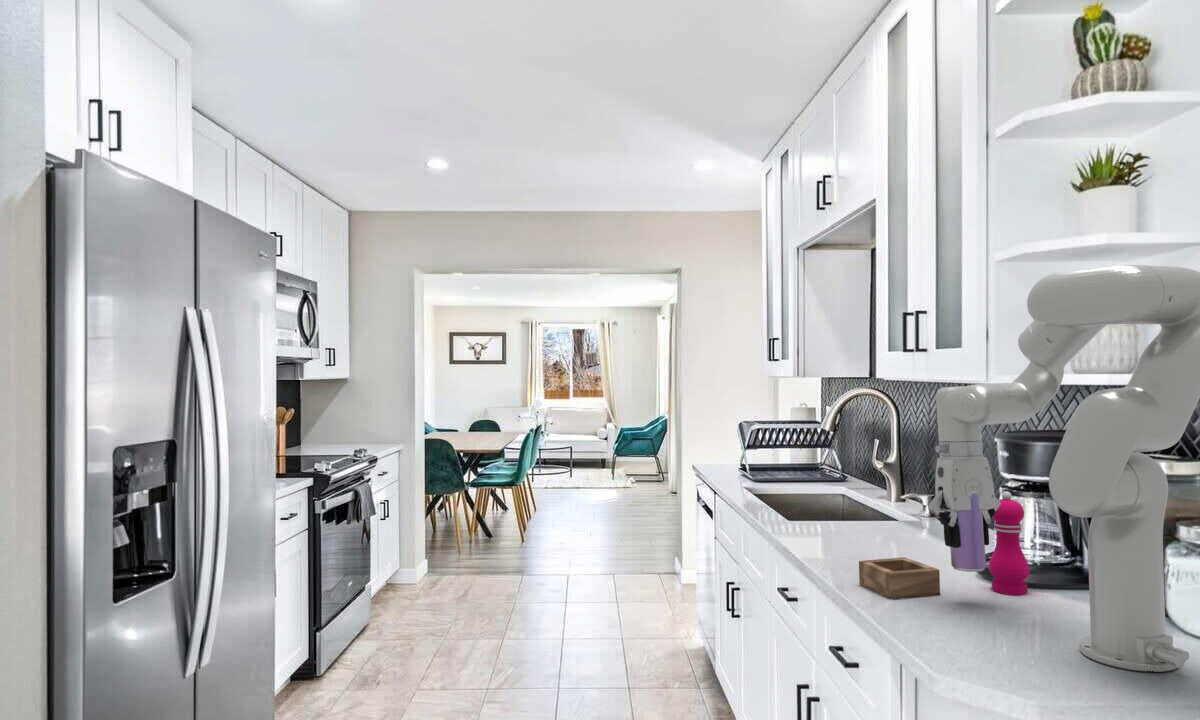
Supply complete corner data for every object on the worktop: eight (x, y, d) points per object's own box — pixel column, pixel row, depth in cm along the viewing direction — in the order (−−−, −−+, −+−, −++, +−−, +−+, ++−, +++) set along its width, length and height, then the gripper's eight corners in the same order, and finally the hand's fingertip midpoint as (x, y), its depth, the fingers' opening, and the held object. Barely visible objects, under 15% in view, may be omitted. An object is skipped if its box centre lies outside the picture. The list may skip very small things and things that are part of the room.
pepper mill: (1035, 596, 148) (1032, 494, 149) (995, 595, 150) (992, 493, 150) (1022, 586, 155) (1019, 489, 156) (984, 585, 157) (981, 488, 157)
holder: (940, 594, 150) (939, 569, 151) (891, 599, 148) (890, 573, 148) (905, 580, 161) (904, 557, 161) (859, 584, 159) (858, 561, 159)
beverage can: (978, 573, 140) (972, 492, 141) (946, 569, 144) (940, 490, 146) (991, 568, 144) (985, 489, 145) (959, 564, 148) (954, 487, 150)
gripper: (934, 453, 140) (941, 552, 139) (1013, 449, 144) (1020, 545, 143) (909, 451, 147) (915, 545, 146) (984, 447, 151) (991, 539, 150)
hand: (967, 544), depth 145 cm, fingers closed on beverage can, 5 cm apart
